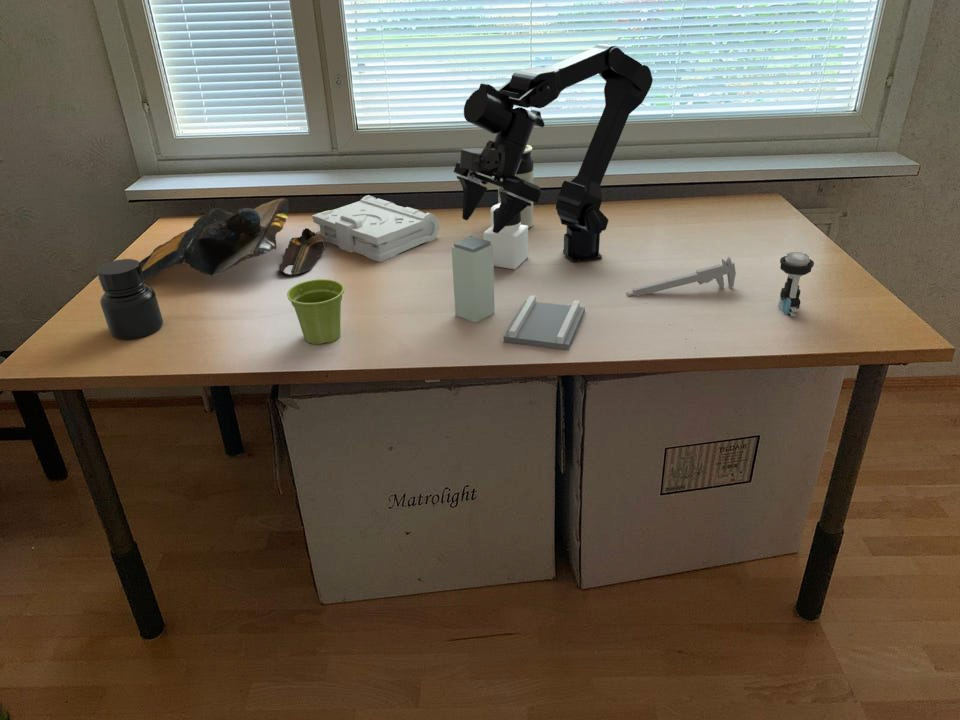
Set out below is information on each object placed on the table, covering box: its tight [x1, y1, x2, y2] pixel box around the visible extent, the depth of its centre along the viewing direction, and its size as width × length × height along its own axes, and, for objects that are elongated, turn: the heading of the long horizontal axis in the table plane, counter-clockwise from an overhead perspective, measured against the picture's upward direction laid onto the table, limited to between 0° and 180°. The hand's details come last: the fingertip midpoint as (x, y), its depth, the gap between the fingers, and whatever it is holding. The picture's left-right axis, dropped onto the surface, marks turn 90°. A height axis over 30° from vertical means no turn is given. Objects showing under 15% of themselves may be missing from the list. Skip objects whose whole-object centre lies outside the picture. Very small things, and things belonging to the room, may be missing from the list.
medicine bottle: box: [482, 203, 529, 270], centre depth 145 cm, size 7×7×12 cm
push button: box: [777, 251, 815, 317], centre depth 123 cm, size 7×5×10 cm
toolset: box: [139, 198, 326, 281], centre depth 151 cm, size 40×20×27 cm
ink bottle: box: [96, 258, 164, 340], centre depth 124 cm, size 10×9×12 cm
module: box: [451, 235, 496, 324], centre depth 125 cm, size 5×5×14 cm
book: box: [311, 194, 440, 263], centre depth 162 cm, size 19×28×8 cm
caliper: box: [626, 256, 737, 297], centre depth 132 cm, size 20×1×6 cm, turn 97°
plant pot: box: [286, 278, 345, 345], centre depth 120 cm, size 9×9×9 cm
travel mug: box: [497, 144, 534, 229], centre depth 162 cm, size 8×8×18 cm
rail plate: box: [503, 294, 586, 351], centre depth 122 cm, size 14×11×2 cm
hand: (479, 225), depth 130 cm, fingers open, 9 cm apart
